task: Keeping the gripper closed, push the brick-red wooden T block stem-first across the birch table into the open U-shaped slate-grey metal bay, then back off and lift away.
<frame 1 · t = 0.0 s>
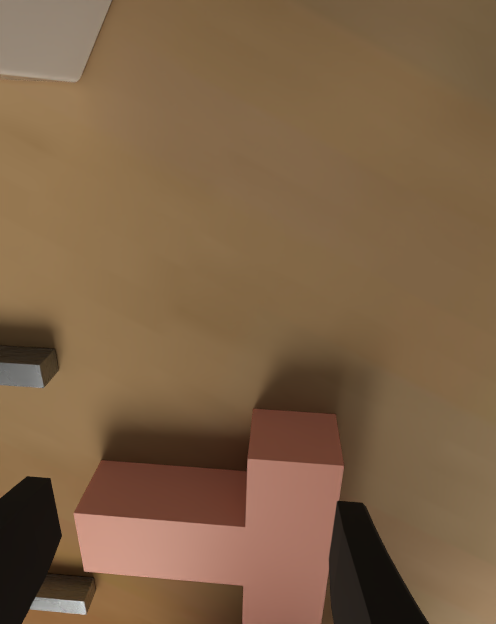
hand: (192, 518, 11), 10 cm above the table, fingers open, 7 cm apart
t block: (213, 496, 25), on the table
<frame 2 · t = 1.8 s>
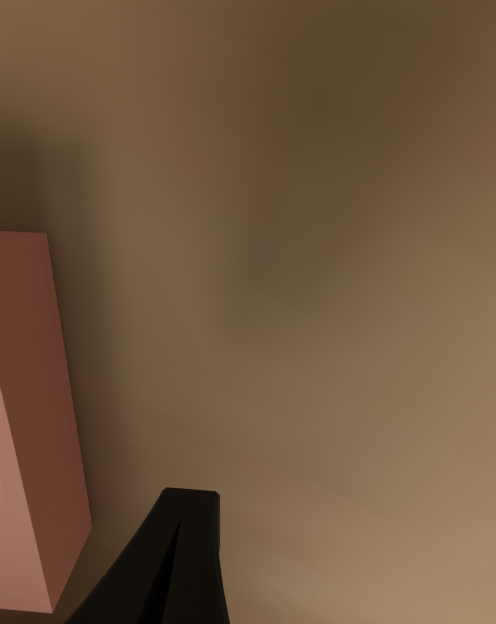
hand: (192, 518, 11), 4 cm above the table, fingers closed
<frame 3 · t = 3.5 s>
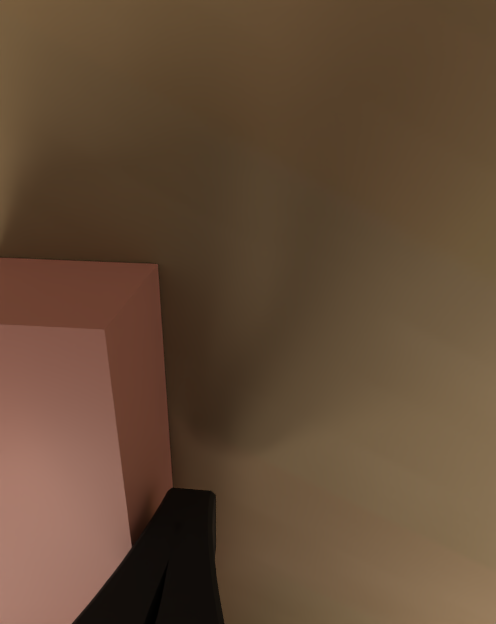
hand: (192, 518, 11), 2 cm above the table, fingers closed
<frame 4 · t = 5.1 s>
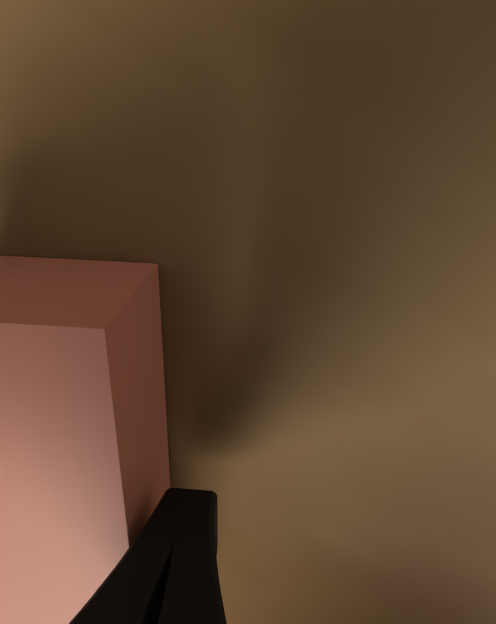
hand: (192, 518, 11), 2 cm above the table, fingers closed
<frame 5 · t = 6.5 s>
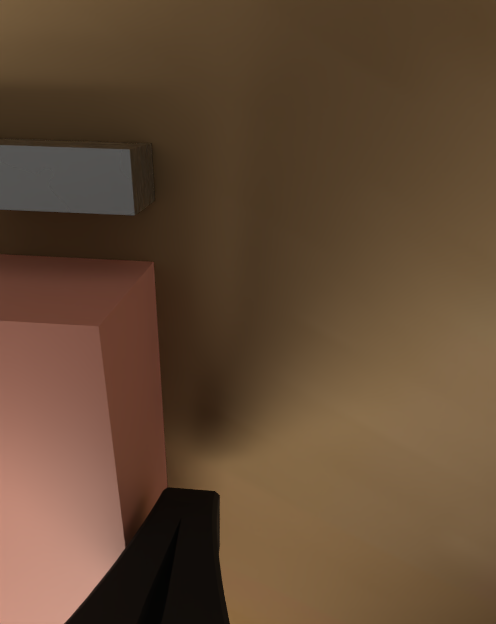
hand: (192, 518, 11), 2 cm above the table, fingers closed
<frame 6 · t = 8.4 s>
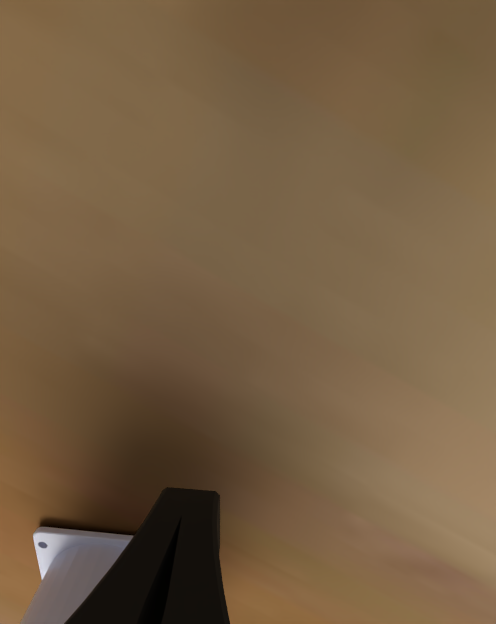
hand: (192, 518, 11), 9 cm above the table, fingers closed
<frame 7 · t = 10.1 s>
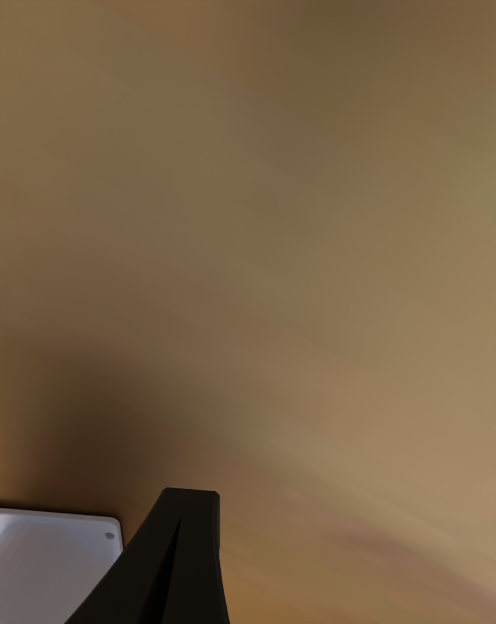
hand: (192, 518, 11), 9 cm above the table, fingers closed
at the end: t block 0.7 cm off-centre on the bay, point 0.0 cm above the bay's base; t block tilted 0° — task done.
